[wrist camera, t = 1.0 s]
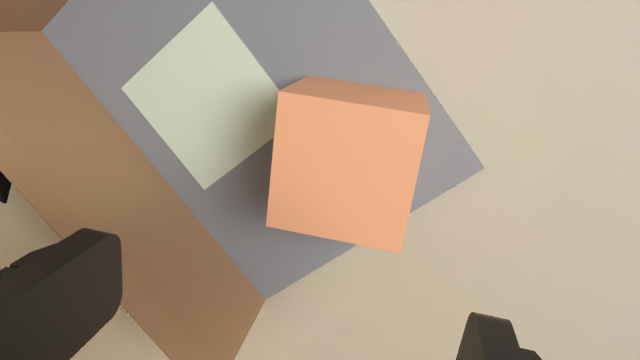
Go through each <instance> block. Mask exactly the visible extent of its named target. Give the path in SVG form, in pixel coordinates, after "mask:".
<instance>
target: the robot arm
mask: <svg viewBox="0 0 640 360" xmlns="http://www.w3.org/2000/svg"><path fill="white" fill-rule="evenodd" d="M122 293H123V284H122V249H121V240H120V238H119V236H118V235H116V234H113V233H108V232H103V231H99V230H94V229H89V228H82V229H80V230H78V231H76V232H75V233H73V234H71V235H70V236H68V237H67V238H65V239H63V240H62V241H60V242H58V243H57V244H54V245H51V246H48V247H45V248H42V249H39V250H36V251H33V252H30V253H29V254H27V255H25V256H24V257H22V258H20V259H19V260H17V261H15V262H14V263H12V264H10V267H9V268H8V267H5V268H3V269H2V270H0V360H70V359H71V358H72V357H73V356H74V355H75V354H76V353H77V352H78V351H79V350H80V349H81V348H82V347H83V346H84V345H85V344H86V343H87V342H88V341H89V340H90V339H91V338H92V337H93V336H94V335H95V334H96V333H97V332H98V331H99V330H100V329H101V328H102V327H103V326H104V325H105V324H106V323H107V322H108V321H110V320H111V318H112V317H113V316H114V315H115V313H116V312H117V310H118V308H119V305H120V303H121V299H122ZM456 360H542V359H541V358H540V357H539V356H538V355H537V354H536V352H535V351H531V350H527V349H523V348H520V347H519V344H518V341H517V338H516V335H515V332H514V329H513V326H512V324H511V322H510V321H509V320H507V319H502V318H498V317H493V316H488V315H484V314H479V313H474V312H472V313H471V314H470V315H469V317H468V320H467V323H466V326H465V330H464V333H463V337H462V340H461V344H460V347H459V351H458V354H457V358H456Z"/></svg>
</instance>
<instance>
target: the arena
mask: <svg viewBox="0 0 640 360" xmlns="http://www.w3.org/2000/svg"><path fill="white" fill-rule="evenodd" d="M309 75H311V76H317V77H324V78H330V79H337V80H343V81H350V82H356V83H363V84H370V85H376V86H383V87H389V88H396V89H402V90H409V91H415V92H422V93H425V94H426V98H427V103H428V107H429V111H430V120H429V124H428V129H427V134H426V138H425V143H424V148H423V152H422V157H421V162H420V167H419V171H418V176H417V181H416V185H415V190H414V195H413V199H412V204H411V209H410V213H411V212H412V211H414V210H416V209H417V208H419V207H421V206H422V205H424V204H426V203H427V202H429V201H431V200H432V199H434V198H436V197H437V196H439V195H441V194H442V193H444V192H446V191H447V190H449V189H451V188H452V187H454V186H456V185H457V184H459V183H461V182H462V181H464V180H466V179H467V178H469V177H471V176H472V175H474V174H476V173H477V172H479V171H481V170H482V169H484V167H483V165H482V163H481V162H480V160H479V159H478V158H477V156H476V155H475V153H474V152H473V150H472V149H471V147H470V146H469V145H468V143H467V142H466V140H465V139H464V137H463V136H462V134H461V133H460V132H459V130H458V129H457V127H456V126H455V124H454V123H453V121H452V120H451V119H450V117H449V116H448V114H447V113H446V111H445V110H444V109H443V107H442V106H441V104H440V103H439V101H438V100H437V98H436V97H435V96H434V94H433V93H432V91H431V90H430V88H429V87H428V85H427V84H426V83H425V81H424V80H423V78H422V77H421V75H420V74H419V72H418V71H417V70H416V68H415V67H414V65H413V64H412V62H411V61H410V59H409V58H408V57H407V55H406V54H405V52H404V51H403V49H402V48H401V46H400V45H399V44H398V42H397V41H396V39H395V38H394V36H393V35H392V34H391V32H390V31H389V29H388V28H387V26H386V25H385V23H384V22H383V21H382V19H381V18H380V16H379V15H378V13H377V12H376V10H375V9H374V8H373V6H372V5H371V3H370V2H369V0H0V171H1V172H2V173H3V174H4V175H5V177H6V178H7V179H8V180H9V181H10V182H11V183H12V184H13V185H14V187H15V188H16V189H17V190H18V191H19V192H20V193H21V194H22V195H23V197H24V198H25V199H26V200H27V201H28V202H29V203H30V204H31V205H32V207H33V208H34V209H35V210H36V211H37V212H38V213H39V214H40V215H41V217H42V218H43V219H44V220H45V221H46V222H47V223H48V224H49V225H50V227H51V228H52V229H53V230H54V231H55V232H56V233H57V234H58V235H59V237H60V238H61V239H62V240H63V239H65V238H67V237H68V236H70V235H71V234H73V233H75V232H76V231H78V230H80V229H82V228H89V229H94V230H99V231H103V232H108V233H113V234H116V235H118V236H119V238H120V240H121V249H122V284H123V293H122V299H121V303H120V304H121V305H122V307H123V308H124V309H125V310H126V311H127V312H128V313H129V314H130V315H131V317H132V318H133V319H134V320H135V321H136V322H137V323H138V324H139V325H140V327H141V328H142V329H143V330H144V331H145V332H146V333H147V334H148V335H149V337H150V338H151V339H152V340H153V341H154V342H155V343H156V344H157V345H158V346H159V348H160V349H161V350H162V351H163V352H164V353H165V354H166V355H167V356H168V358H169V359H170V360H234V359H235V357H236V355H237V353H238V351H239V349H240V347H241V345H242V343H243V342H244V340H245V338H246V336H247V334H248V332H249V330H250V328H251V326H252V324H253V322H254V321H255V319H256V317H257V315H258V313H259V311H260V309H261V307H262V305H263V303H264V301H265V300H266V299H267V298H269V297H271V296H272V295H274V294H276V293H277V292H279V291H281V290H282V289H284V288H286V287H287V286H289V285H291V284H292V283H294V282H296V281H297V280H299V279H301V278H302V277H304V276H306V275H307V274H309V273H311V272H312V271H314V270H316V269H317V268H319V267H321V266H322V265H324V264H326V263H327V262H329V261H331V260H332V259H334V258H336V257H337V256H339V255H341V254H342V253H344V252H346V251H347V250H349V249H351V248H352V247H354V246H356V245H357V244H352V243H347V242H342V241H337V240H332V239H327V238H322V237H317V236H312V235H307V234H302V233H297V232H292V231H287V230H282V229H277V228H272V227H267V226H266V220H267V209H268V198H269V187H270V176H271V165H272V155H273V144H274V133H275V122H276V111H277V101H278V91H280V90H282V89H284V88H286V87H287V86H289V85H291V84H293V83H295V82H297V81H299V80H301V79H303V78H305V77H307V76H309Z"/></svg>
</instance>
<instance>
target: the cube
mask: <svg viewBox="0 0 640 360" xmlns="http://www.w3.org/2000/svg"><path fill="white" fill-rule="evenodd" d="M429 120H430V111H429V107H428V103H427V98H426V94H425V93H422V92H415V91H409V90H402V89H396V88H389V87H383V86H376V85H370V84H363V83H356V82H350V81H343V80H337V79H330V78H324V77H317V76H311V75H309V76H307V77H305V78H303V79H301V80H299V81H297V82H295V83H293V84H291V85H289V86H287V87H286V88H284V89H282V90H280V91H278V101H277V111H276V122H275V133H274V144H273V155H272V165H271V176H270V187H269V198H268V209H267V220H266V226H267V227H272V228H277V229H282V230H287V231H292V232H297V233H302V234H307V235H312V236H317V237H322V238H327V239H332V240H337V241H342V242H347V243H352V244H357V245H362V246H367V247H372V248H377V249H382V250H387V251H392V252H397V253H401V251H402V246H403V242H404V237H405V232H406V228H407V223H408V218H409V214H410V209H411V204H412V199H413V195H414V190H415V185H416V181H417V176H418V171H419V167H420V162H421V157H422V152H423V148H424V143H425V138H426V134H427V129H428V124H429Z"/></svg>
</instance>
